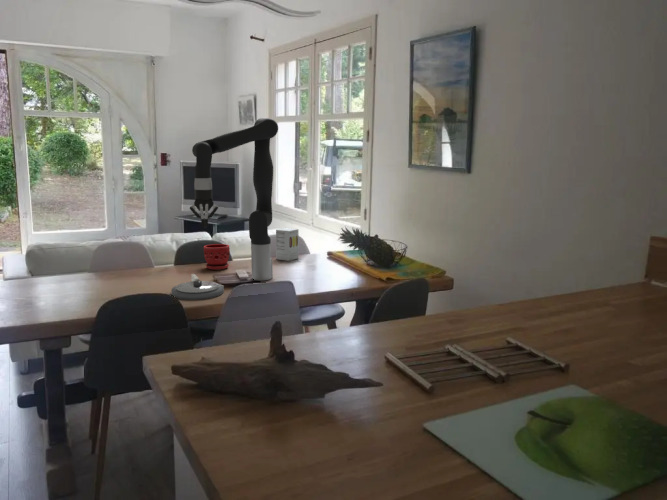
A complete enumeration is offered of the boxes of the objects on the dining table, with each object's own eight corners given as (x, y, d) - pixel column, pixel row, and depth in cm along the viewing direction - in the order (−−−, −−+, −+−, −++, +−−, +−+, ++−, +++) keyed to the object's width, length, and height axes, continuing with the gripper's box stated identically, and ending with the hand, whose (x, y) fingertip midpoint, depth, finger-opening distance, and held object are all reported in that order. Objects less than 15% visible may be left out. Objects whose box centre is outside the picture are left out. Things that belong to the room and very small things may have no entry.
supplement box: (288, 261, 314) (288, 231, 310) (275, 259, 319) (275, 229, 315) (299, 258, 322) (298, 228, 318) (286, 256, 326) (285, 227, 323)
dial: (223, 291, 243) (222, 282, 242) (179, 295, 236) (179, 286, 235) (213, 280, 261) (213, 272, 260) (172, 284, 254) (172, 275, 253)
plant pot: (235, 267, 298) (234, 244, 296) (217, 272, 287) (216, 248, 285) (216, 264, 305) (216, 242, 303) (198, 268, 294) (198, 245, 292)
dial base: (203, 283, 263) (203, 279, 263) (234, 292, 249) (233, 287, 249) (161, 293, 247) (161, 288, 247) (191, 302, 233) (191, 297, 232)
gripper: (218, 187, 256) (219, 225, 260) (188, 187, 254) (189, 226, 257) (218, 188, 249) (219, 228, 253) (187, 189, 247) (189, 228, 250)
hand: (204, 227), depth 255 cm, fingers closed
